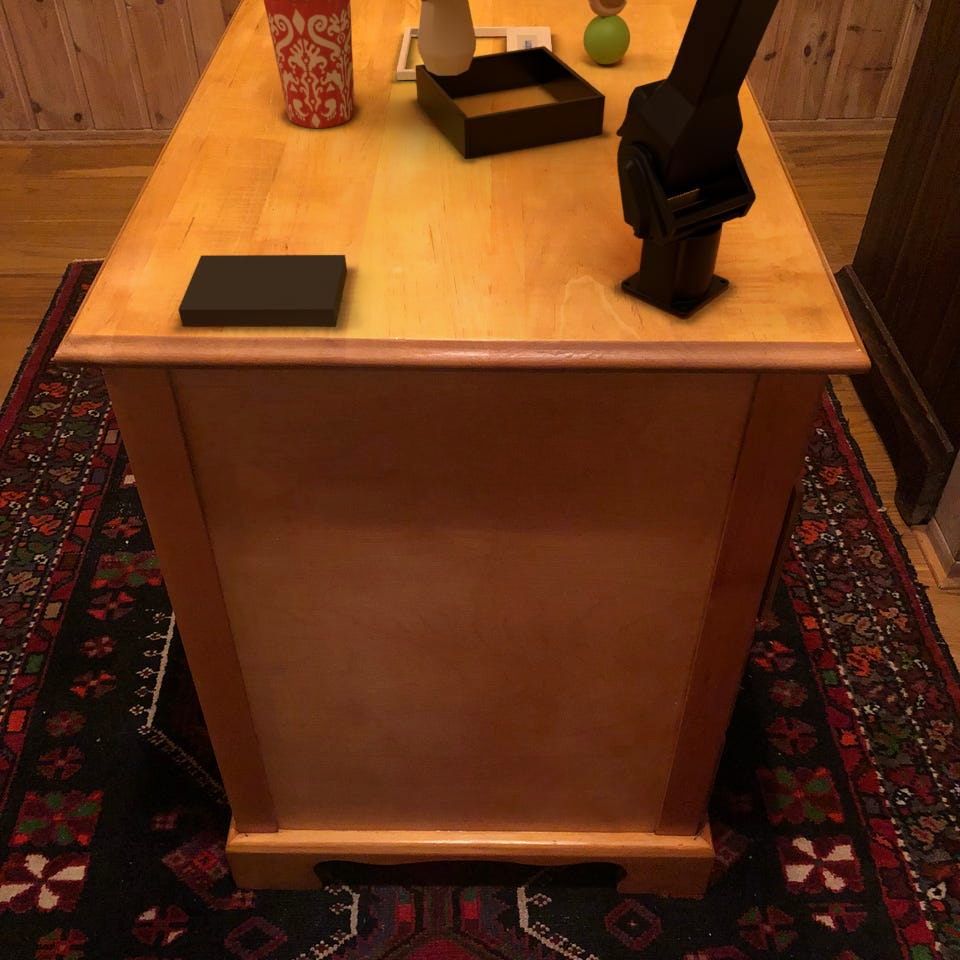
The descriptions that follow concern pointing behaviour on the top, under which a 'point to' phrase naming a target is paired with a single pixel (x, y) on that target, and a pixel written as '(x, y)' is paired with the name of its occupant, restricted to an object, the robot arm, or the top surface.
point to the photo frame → (515, 35)
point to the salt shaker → (446, 36)
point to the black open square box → (518, 126)
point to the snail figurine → (606, 32)
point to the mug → (314, 59)
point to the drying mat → (264, 290)
